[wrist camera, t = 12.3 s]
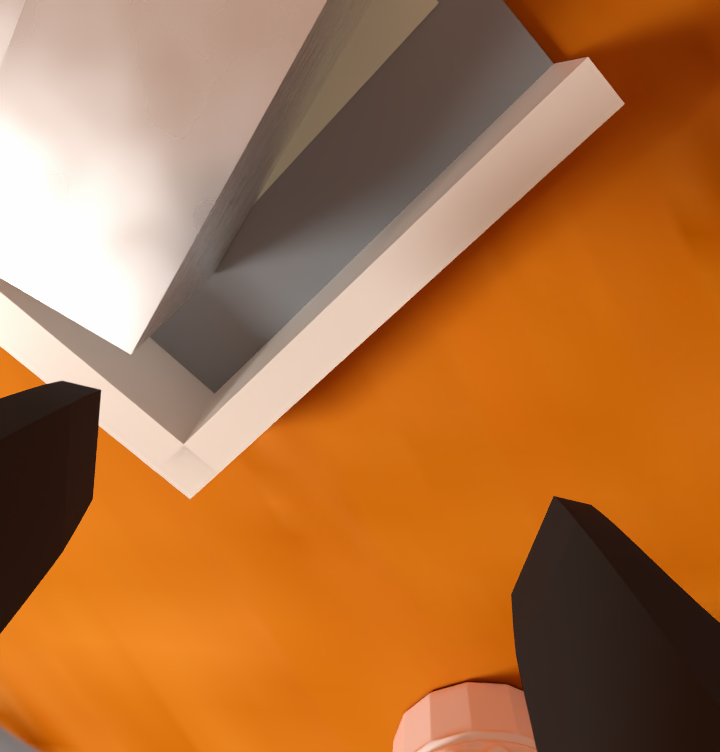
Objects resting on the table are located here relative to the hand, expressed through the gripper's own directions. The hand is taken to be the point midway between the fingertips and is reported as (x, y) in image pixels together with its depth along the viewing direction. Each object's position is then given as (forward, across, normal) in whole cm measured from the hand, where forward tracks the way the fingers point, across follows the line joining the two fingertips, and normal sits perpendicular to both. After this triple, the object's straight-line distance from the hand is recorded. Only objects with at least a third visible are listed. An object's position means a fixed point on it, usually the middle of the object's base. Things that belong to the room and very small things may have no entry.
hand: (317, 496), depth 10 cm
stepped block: (+9, +6, -6) cm, 12 cm away
